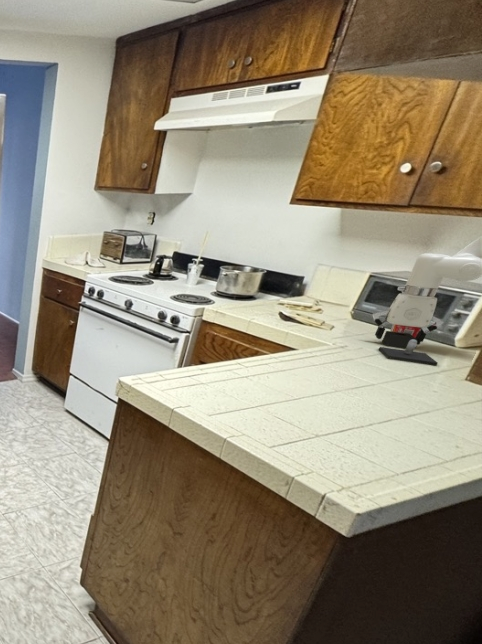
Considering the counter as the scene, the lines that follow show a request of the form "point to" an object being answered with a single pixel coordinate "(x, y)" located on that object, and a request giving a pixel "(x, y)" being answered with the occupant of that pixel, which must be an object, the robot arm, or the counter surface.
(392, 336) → the top pad
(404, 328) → the soda can
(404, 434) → the counter surface
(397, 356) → the base pad
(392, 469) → the counter surface
